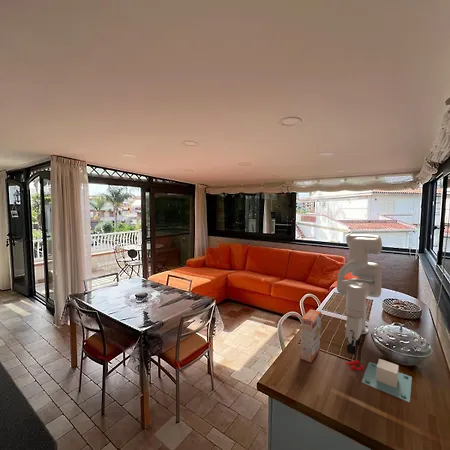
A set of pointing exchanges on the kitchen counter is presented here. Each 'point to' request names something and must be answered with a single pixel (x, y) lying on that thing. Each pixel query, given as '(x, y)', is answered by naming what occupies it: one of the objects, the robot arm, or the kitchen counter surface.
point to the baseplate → (402, 385)
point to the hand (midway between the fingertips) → (353, 348)
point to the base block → (387, 373)
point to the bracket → (354, 365)
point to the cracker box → (310, 335)
